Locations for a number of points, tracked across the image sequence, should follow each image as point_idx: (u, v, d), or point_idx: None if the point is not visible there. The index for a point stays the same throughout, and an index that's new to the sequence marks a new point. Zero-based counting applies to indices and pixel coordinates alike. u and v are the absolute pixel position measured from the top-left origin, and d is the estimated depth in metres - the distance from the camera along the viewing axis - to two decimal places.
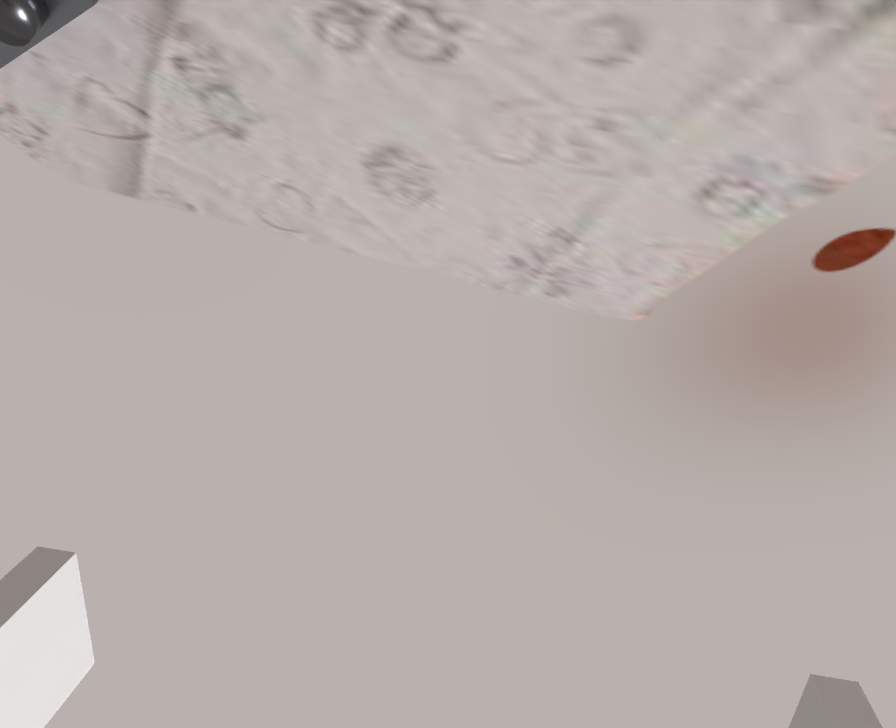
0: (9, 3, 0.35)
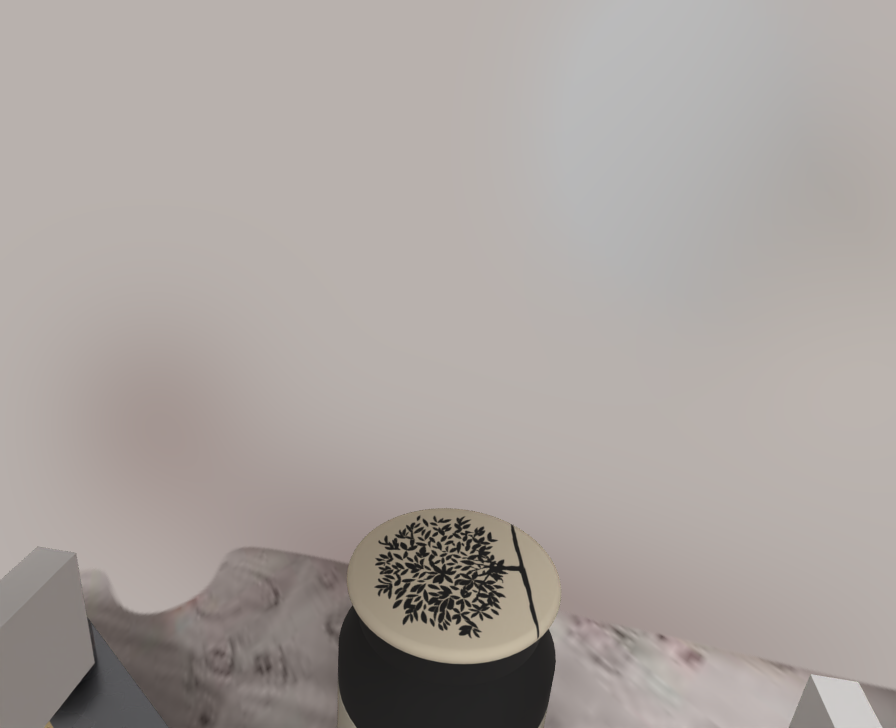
0: None
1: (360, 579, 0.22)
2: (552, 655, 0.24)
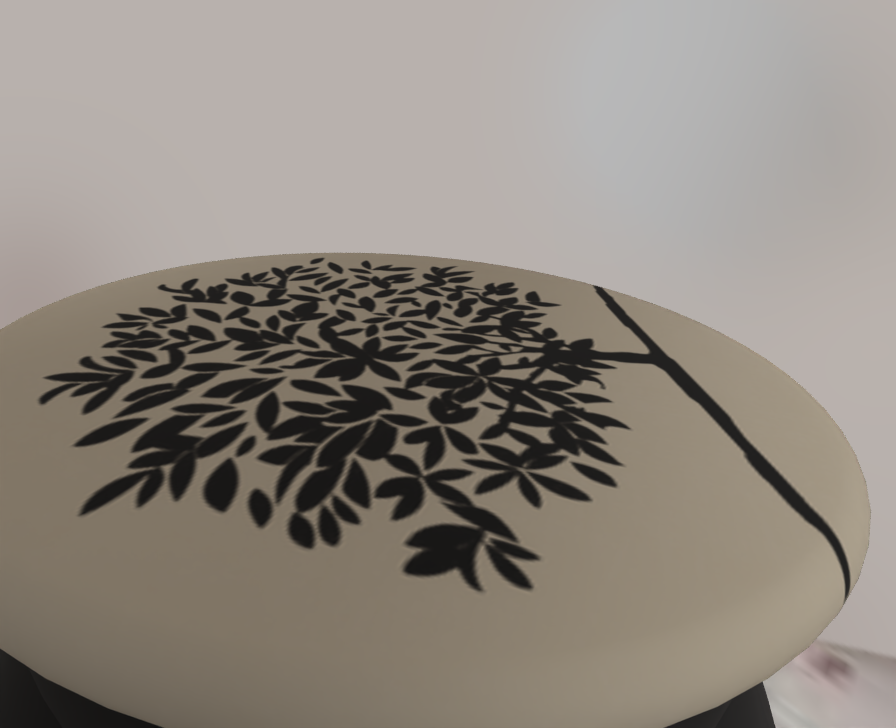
0: None
1: (3, 356, 0.05)
2: None
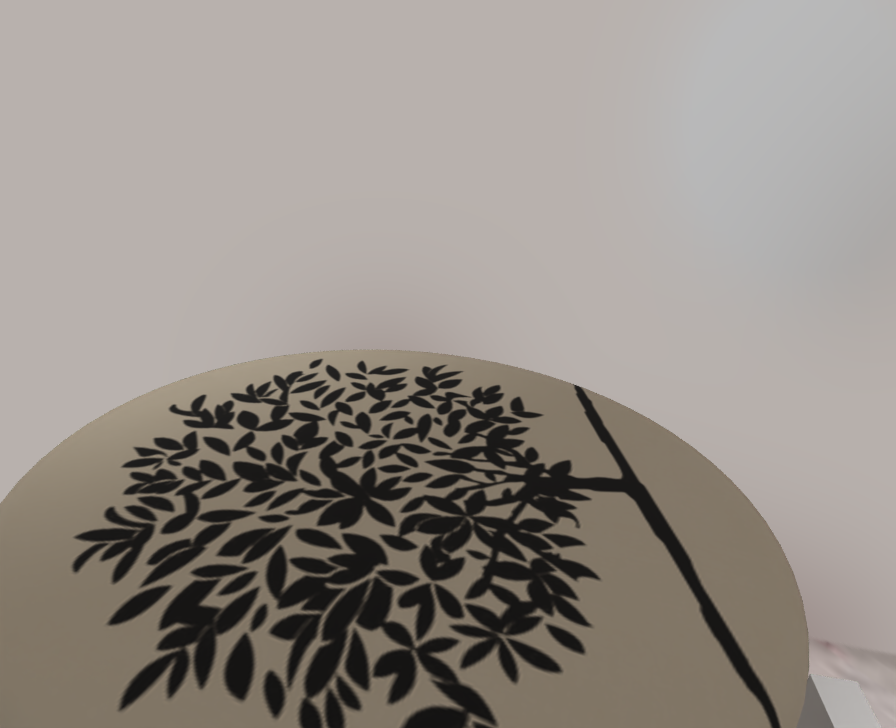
0: None
1: (35, 509, 0.06)
2: None
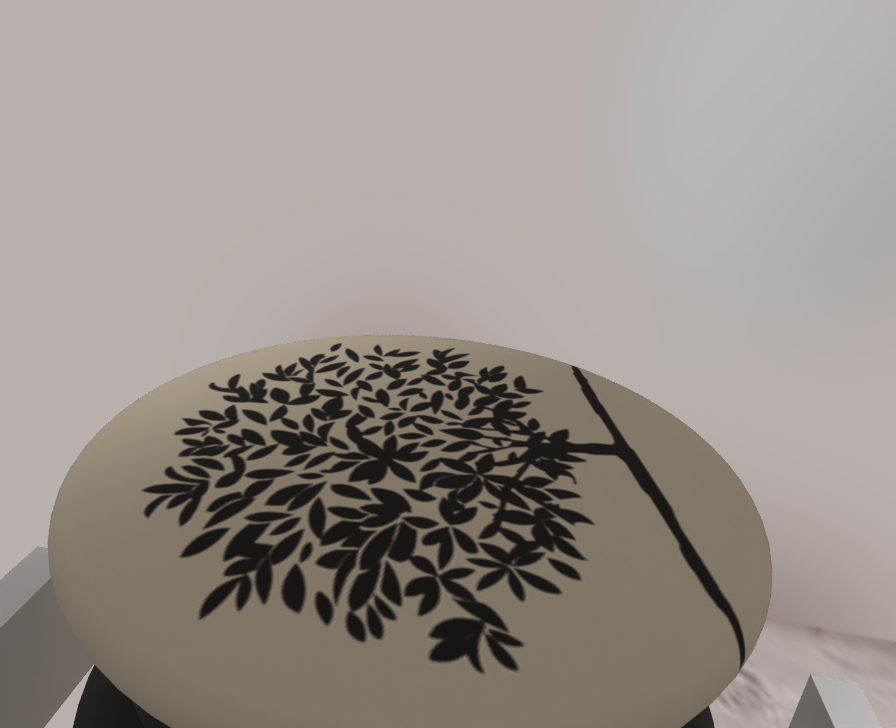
0: None
1: (105, 468, 0.07)
2: None
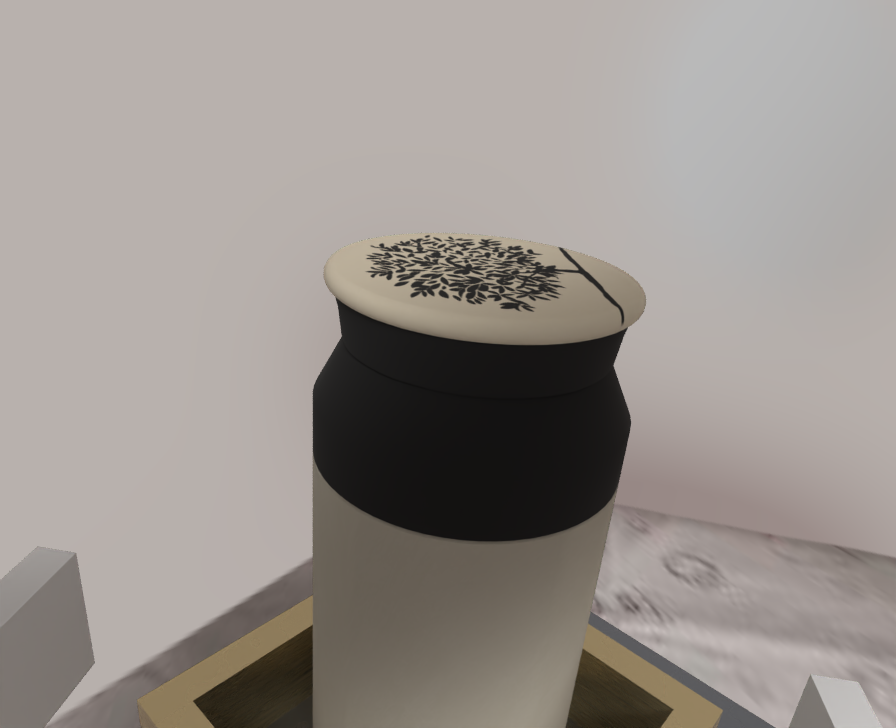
0: None
1: (344, 266, 0.15)
2: (626, 405, 0.16)
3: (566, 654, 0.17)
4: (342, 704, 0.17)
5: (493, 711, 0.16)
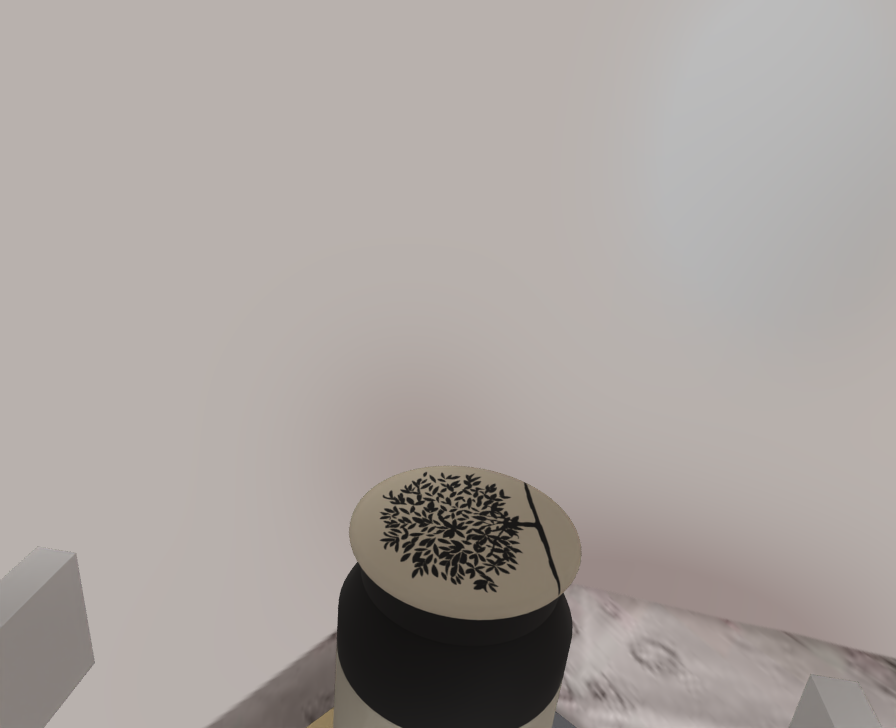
0: None
1: (364, 532, 0.21)
2: (569, 619, 0.22)
3: None
4: None
5: None
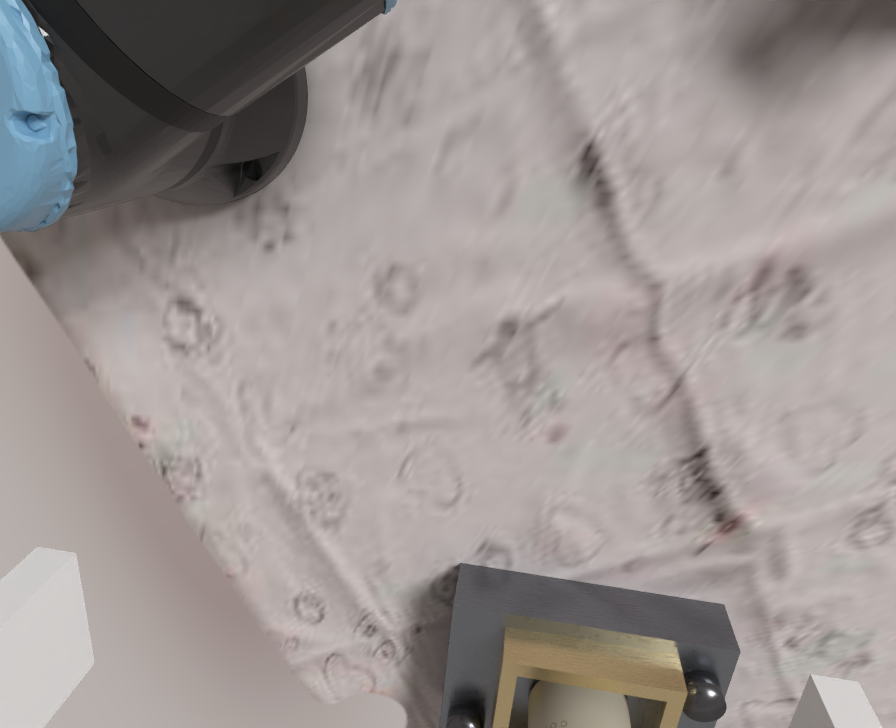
0: (705, 692, 0.49)
1: None
2: None
3: None
4: None
5: None
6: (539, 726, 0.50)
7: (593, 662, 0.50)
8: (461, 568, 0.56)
